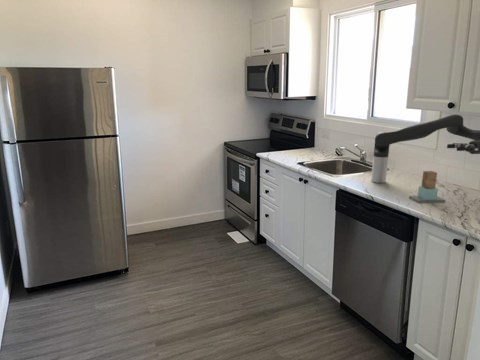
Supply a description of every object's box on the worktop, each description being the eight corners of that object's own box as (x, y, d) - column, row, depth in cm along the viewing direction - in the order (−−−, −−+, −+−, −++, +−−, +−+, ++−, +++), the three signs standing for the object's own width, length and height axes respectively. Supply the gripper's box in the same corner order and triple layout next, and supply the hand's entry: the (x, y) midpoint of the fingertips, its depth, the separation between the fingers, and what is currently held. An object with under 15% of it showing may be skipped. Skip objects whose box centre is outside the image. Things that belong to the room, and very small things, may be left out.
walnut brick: (421, 186, 220) (423, 171, 218) (429, 186, 220) (431, 170, 218) (426, 188, 215) (428, 173, 213) (435, 188, 216) (437, 172, 213)
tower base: (409, 198, 223) (410, 185, 221) (435, 197, 225) (437, 185, 223) (417, 202, 214) (419, 190, 213) (444, 201, 216) (446, 189, 214)
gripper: (472, 138, 221) (445, 138, 219) (490, 142, 207) (461, 142, 205) (470, 151, 223) (443, 151, 221) (487, 156, 209) (459, 156, 207)
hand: (452, 147), depth 213 cm, fingers open, 8 cm apart
